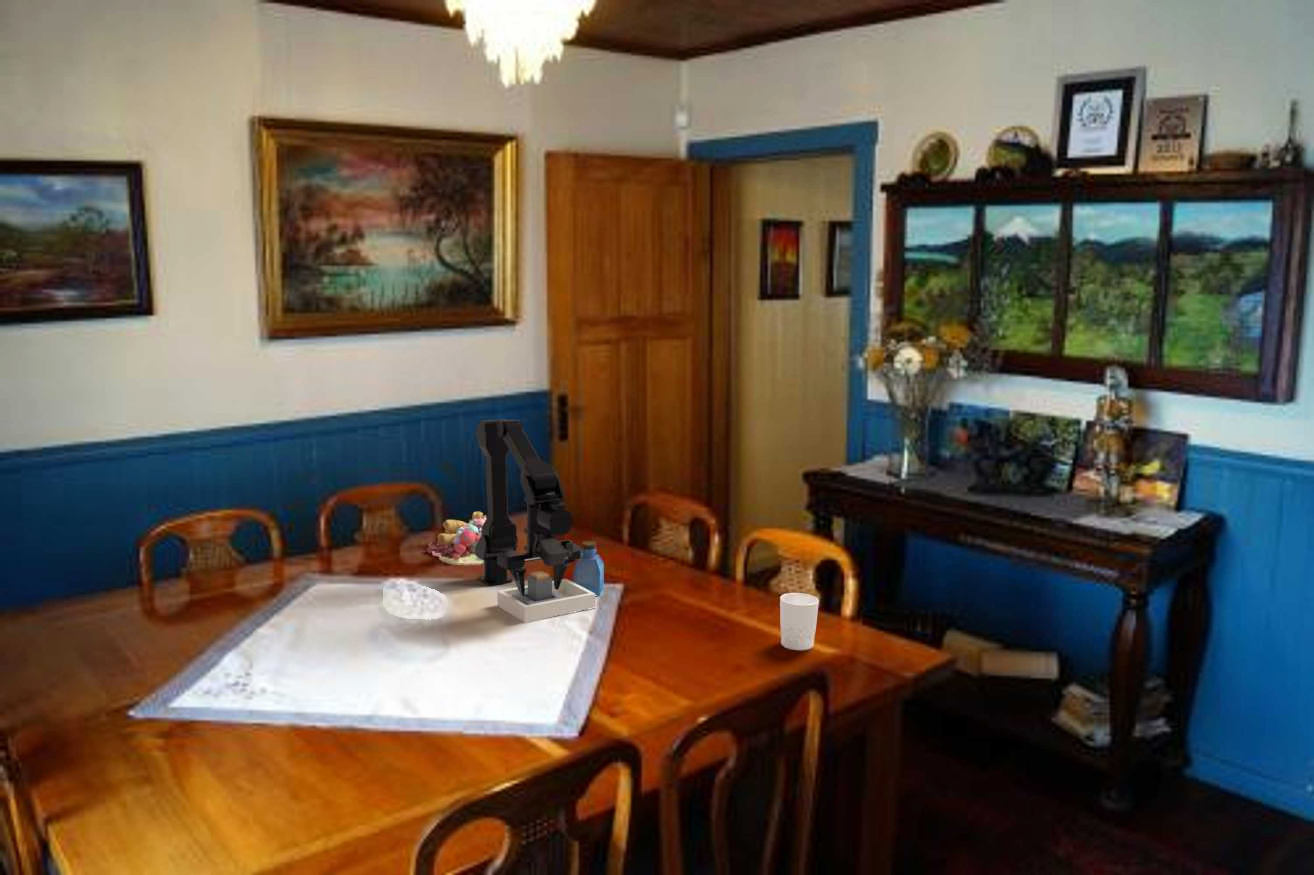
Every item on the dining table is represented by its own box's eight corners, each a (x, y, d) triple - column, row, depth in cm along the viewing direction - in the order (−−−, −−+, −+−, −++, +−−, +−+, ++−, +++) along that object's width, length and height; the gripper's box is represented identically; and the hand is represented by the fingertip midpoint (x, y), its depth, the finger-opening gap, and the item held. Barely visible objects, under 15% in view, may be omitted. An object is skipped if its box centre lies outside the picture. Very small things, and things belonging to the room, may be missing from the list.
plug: (536, 610, 234) (536, 577, 233) (527, 605, 237) (527, 572, 236) (551, 607, 236) (552, 574, 235) (543, 602, 240) (543, 569, 238)
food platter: (410, 549, 283) (410, 516, 281) (484, 535, 299) (484, 503, 297) (462, 571, 265) (461, 535, 264) (537, 554, 281) (537, 520, 279)
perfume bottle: (603, 588, 253) (604, 540, 251) (599, 596, 247) (600, 547, 245) (578, 587, 254) (578, 539, 252) (573, 595, 247) (574, 545, 245)
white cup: (819, 641, 222) (821, 595, 220) (812, 654, 214) (814, 607, 213) (782, 635, 224) (784, 590, 223) (774, 648, 217) (776, 602, 215)
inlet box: (497, 605, 239) (497, 591, 238) (566, 592, 249) (566, 578, 248) (524, 622, 228) (524, 607, 228) (595, 608, 239) (595, 593, 238)
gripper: (519, 539, 222) (519, 609, 225) (594, 527, 233) (593, 595, 235) (495, 527, 231) (495, 595, 234) (569, 516, 241) (568, 582, 244)
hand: (539, 592), depth 236 cm, fingers open, 8 cm apart
